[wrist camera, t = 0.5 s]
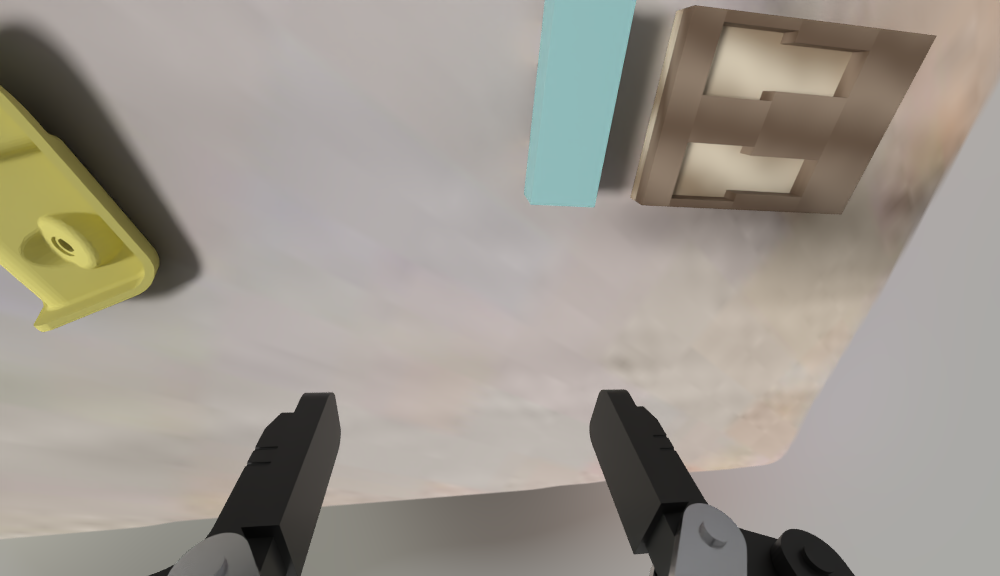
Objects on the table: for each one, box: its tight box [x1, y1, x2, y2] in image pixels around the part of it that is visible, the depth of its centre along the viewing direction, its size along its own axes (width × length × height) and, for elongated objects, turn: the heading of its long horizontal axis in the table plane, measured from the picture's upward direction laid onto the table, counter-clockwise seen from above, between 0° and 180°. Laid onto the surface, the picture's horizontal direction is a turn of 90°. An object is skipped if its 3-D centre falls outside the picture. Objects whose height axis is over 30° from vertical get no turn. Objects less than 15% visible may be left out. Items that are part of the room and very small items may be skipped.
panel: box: [524, 0, 636, 207], centre depth 27 cm, size 13×5×6 cm, turn 176°
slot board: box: [630, 5, 936, 214], centre depth 31 cm, size 14×20×2 cm
